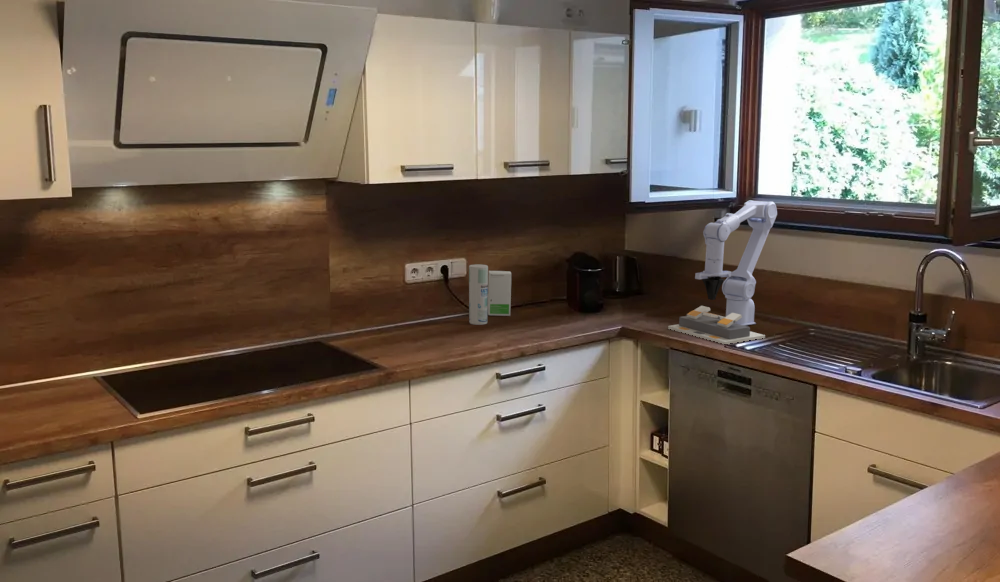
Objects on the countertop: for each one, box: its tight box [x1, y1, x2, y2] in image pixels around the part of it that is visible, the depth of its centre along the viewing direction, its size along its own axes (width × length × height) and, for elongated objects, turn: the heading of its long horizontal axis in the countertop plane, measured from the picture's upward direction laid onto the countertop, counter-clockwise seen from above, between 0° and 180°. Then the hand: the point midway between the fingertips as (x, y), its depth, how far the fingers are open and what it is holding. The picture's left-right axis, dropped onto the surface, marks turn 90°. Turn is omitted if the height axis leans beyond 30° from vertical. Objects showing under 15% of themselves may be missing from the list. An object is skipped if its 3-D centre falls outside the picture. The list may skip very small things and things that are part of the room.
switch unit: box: [667, 315, 766, 345], centre depth 286 cm, size 18×26×4 cm
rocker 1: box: [686, 305, 711, 319], centre depth 290 cm, size 7×4×1 cm, turn 120°
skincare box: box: [487, 270, 512, 317], centre depth 313 cm, size 8×7×16 cm
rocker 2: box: [702, 312, 726, 320], centre depth 284 cm, size 7×4×1 cm, turn 122°
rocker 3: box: [717, 313, 742, 328], centre depth 278 cm, size 7×4×1 cm, turn 120°
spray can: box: [468, 263, 489, 326], centre depth 298 cm, size 6×6×20 cm
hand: (711, 299), depth 289 cm, fingers closed
